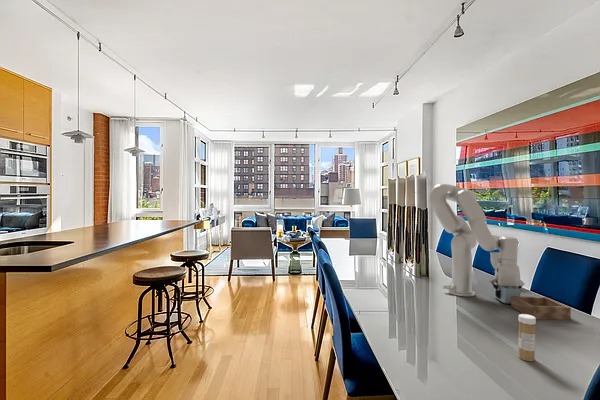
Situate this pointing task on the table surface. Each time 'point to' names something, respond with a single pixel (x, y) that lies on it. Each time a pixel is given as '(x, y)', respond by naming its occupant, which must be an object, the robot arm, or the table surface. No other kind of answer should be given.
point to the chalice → (494, 259)
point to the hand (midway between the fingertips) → (506, 298)
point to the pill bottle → (526, 337)
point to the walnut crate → (541, 307)
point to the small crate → (507, 293)
